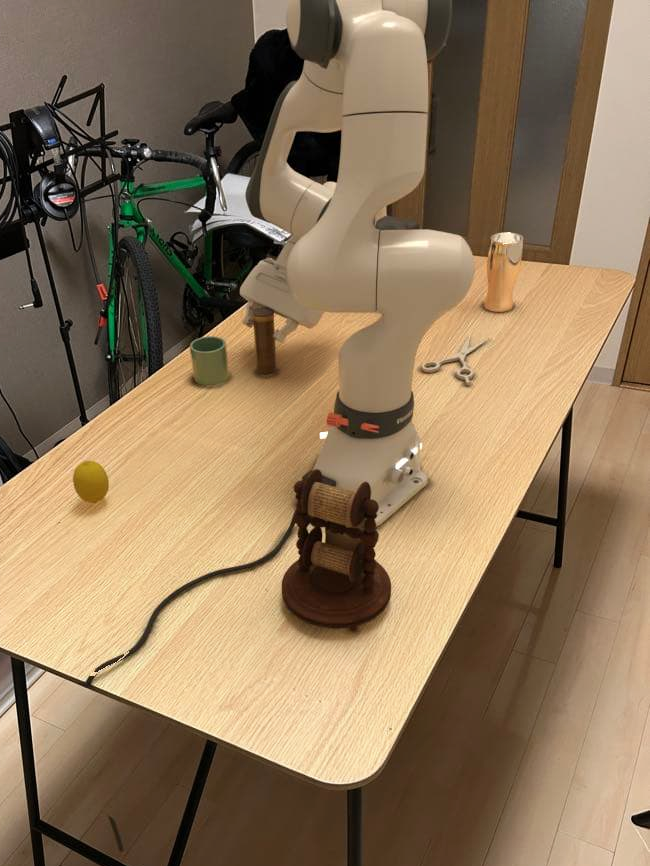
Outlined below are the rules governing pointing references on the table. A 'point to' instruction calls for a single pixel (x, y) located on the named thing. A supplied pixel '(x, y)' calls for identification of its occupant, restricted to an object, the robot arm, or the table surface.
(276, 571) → the table surface
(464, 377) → the scissors
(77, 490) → the lemon
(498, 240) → the beer glass
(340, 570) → the wooden twine spool holder
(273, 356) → the rod
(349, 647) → the table surface
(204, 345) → the tumbler
